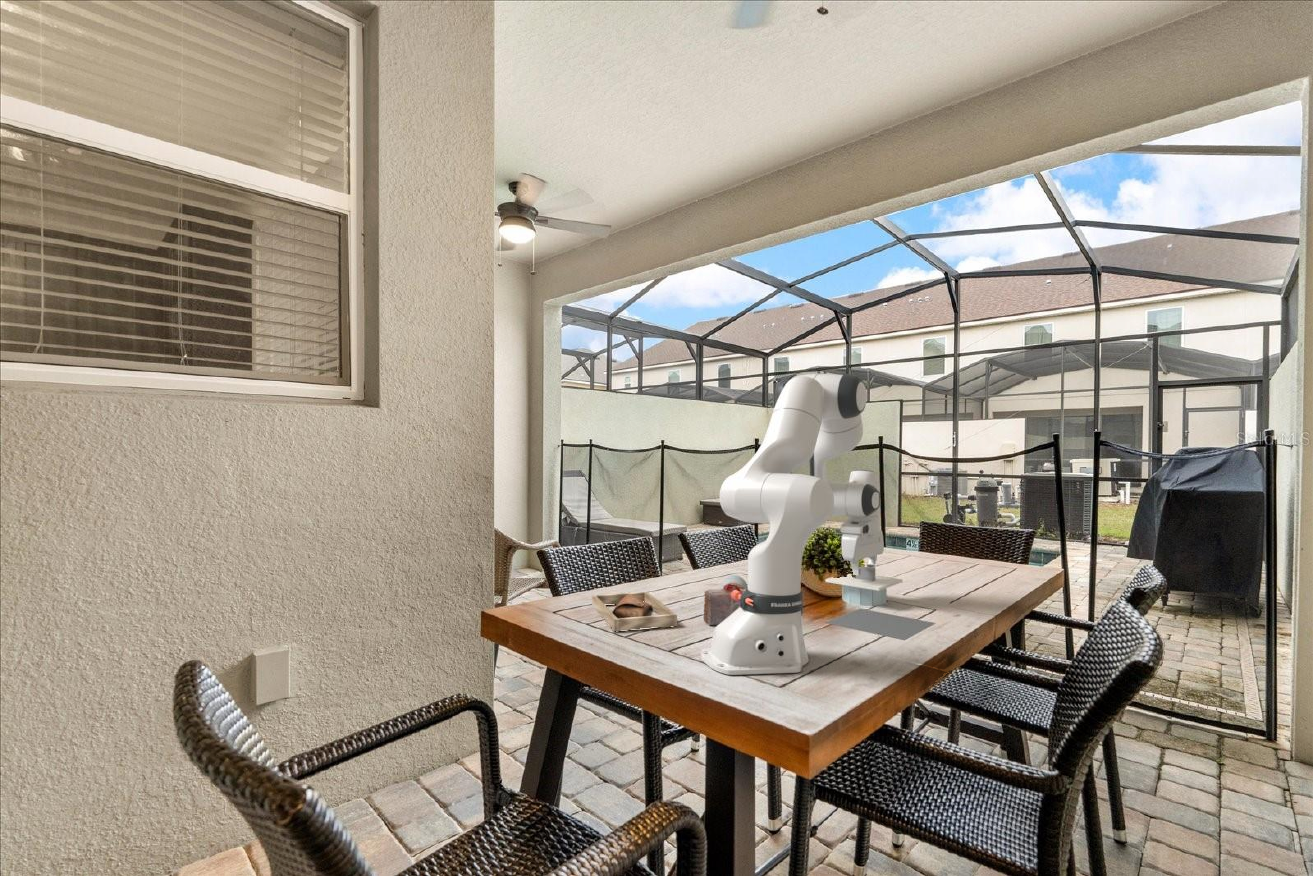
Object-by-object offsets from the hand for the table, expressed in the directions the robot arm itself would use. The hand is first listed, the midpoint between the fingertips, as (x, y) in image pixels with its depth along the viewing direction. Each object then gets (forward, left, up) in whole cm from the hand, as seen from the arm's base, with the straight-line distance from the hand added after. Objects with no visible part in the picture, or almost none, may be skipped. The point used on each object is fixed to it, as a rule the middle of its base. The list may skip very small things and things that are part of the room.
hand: (863, 572), depth 175 cm
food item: (-46, -8, -9) cm, 48 cm away
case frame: (-69, +5, -9) cm, 70 cm away
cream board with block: (0, 0, -3) cm, 3 cm away
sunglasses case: (-69, +5, -9) cm, 70 cm away
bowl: (0, 0, -9) cm, 9 cm away
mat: (-11, -21, -9) cm, 25 cm away
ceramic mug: (-36, +9, -9) cm, 38 cm away
